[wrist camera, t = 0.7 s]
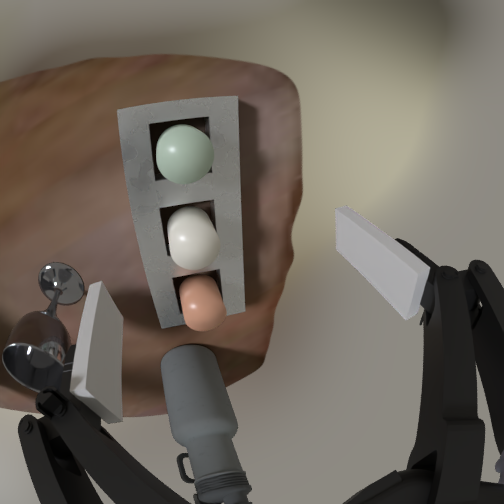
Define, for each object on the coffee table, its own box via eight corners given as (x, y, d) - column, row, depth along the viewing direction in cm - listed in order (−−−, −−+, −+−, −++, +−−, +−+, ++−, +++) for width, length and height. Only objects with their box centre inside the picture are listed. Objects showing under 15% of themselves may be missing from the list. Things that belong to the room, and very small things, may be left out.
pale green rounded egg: (159, 174, 27) (159, 188, 23) (154, 127, 25) (153, 132, 21) (206, 167, 29) (215, 180, 25) (203, 121, 26) (212, 124, 22)
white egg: (170, 250, 32) (174, 273, 28) (164, 210, 30) (166, 229, 25) (212, 242, 33) (222, 264, 29) (209, 202, 31) (218, 220, 27)
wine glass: (84, 261, 32) (60, 350, 19) (89, 309, 35) (78, 397, 23) (31, 257, 28) (-9, 339, 16) (41, 305, 32) (16, 389, 20)
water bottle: (197, 382, 50) (239, 517, 27) (150, 371, 45) (180, 524, 22) (225, 350, 47) (286, 499, 24) (175, 335, 42) (221, 512, 19)
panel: (160, 314, 39) (161, 328, 37) (120, 109, 25) (117, 109, 22) (239, 298, 42) (245, 311, 40) (230, 96, 28) (237, 95, 25)
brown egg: (182, 308, 37) (188, 334, 33) (176, 278, 34) (180, 303, 30) (218, 301, 38) (228, 326, 34) (215, 270, 35) (225, 294, 31)
